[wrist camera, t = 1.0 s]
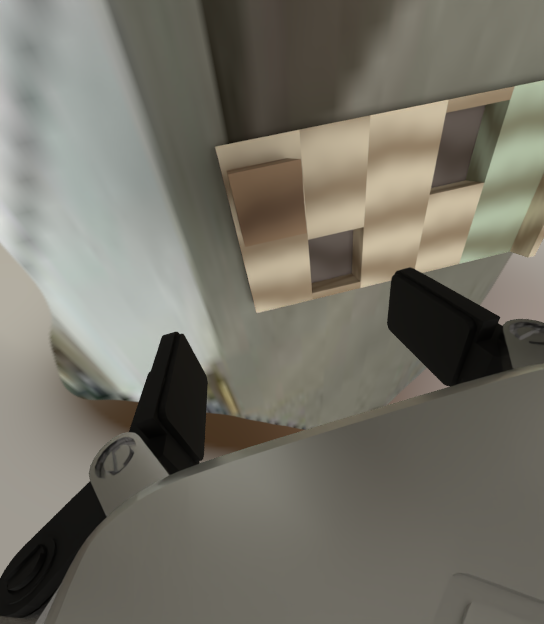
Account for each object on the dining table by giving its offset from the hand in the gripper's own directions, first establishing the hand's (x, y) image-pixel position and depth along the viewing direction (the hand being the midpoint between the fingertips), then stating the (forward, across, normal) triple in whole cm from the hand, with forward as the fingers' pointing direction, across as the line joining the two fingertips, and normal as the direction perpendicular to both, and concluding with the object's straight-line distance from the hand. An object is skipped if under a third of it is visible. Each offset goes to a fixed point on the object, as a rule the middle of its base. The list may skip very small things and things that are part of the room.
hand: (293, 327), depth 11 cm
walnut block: (+19, -2, -3) cm, 19 cm away
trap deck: (+22, -18, +2) cm, 28 cm away
